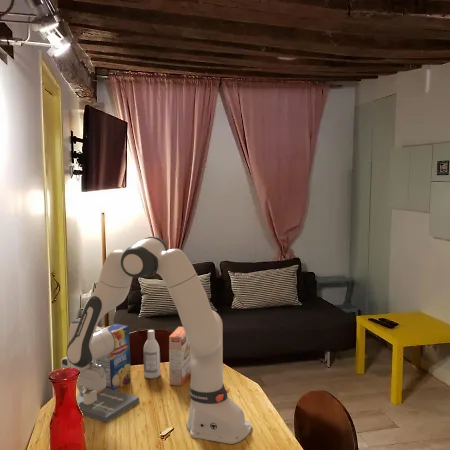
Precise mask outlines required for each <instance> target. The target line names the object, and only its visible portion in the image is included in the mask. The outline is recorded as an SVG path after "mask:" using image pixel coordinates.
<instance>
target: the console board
mask: <svg viewBox="0 0 450 450" xmlns="http://www.w3.org/2000/svg"><path fill="white" fill-rule="evenodd" d="M76 396H77V401H78V405H79V407H80V410H81V411H82V413H83V415H84V416H83V415H82V416H83V417H85V418H86V417H87V418H90V419H93V420H95V421H98V422H102V423H105V424H107V423H108V422H110V421H112V420H113V419H114V418H116V417H118V416H119V415H121V414H122V413H125V412H126V411H127V410H128V409H130V408H132V407H133V406H135V405H136V404H137V405H138V403H140V397H139V396H138V395H137V396H136V395H133V394H130V393H126V392H122V391H119V390H117V389H116V390H112V389H108V388H104V389H103V391H101V392H99V393H97V400H96V401H95V402H93V403H91V404H89V405H86V404H84V401H83V397H81V396H80V393H79V394H77V395H76Z"/></svg>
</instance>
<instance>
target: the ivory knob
mask: <svg viewBox="0 0 450 450" xmlns="http://www.w3.org/2000/svg"><path fill="white" fill-rule="evenodd" d="M96 400H97V391H96V390H93V389H90V390H88V391H86V392H85V393H83V401H84V404H86V405H89V404H91V403H93V402H95V401H96Z"/></svg>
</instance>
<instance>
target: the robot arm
mask: <svg viewBox="0 0 450 450" xmlns="http://www.w3.org/2000/svg"><path fill="white" fill-rule="evenodd" d="M156 274H158V275H159V277H161V279H162V280H163V283H164V285H165V287H166V288H167V291H168V293H169V295H170V297H171V299H172V302H173V303H174V305H175V308H176V310H177V312H178V316H179V318H180V322H181V324H182V325H181V326H182V327H183V328H184V330H185V333H186V335H187V338H188V340H189V344H190V346H191V373H190V385H189V399H190V405H189V407H190V408H189V412H188V413H189V414H188V419H187V421H186V427H187V429H188V431H189V434H190V437H191V438H194V439H200V440H207V441H211V442H218V443H223V444H230V445H231V444H232V445H233V444H237V443H239V442H242V440H244V439H246V437H248V436H249V434H250V433H251V431H252V423H251V422H249V421H247V420H246V418H245V414H244V410H243V409H242V408H241V407H240V406H239V405H238V404H237V403H236V402H235V401H234V400H232V398H231V397H229V396H228V393H230V390H231V389H230V388H231V387H230V388H227V389H226V387H225V385H224V379H223V378H224V377H223V376H224V375H223V374H224V370H223V369H224V364H223V359H224V357H223V352H224V351H223V350H224V347H223V346H224V345H223V341H224V340H223V339H224V338H223V333H224V332H223V330H224V329H223V328H224V327H223V319H222V318H221V316H220V314H219V313H218V312H216V311H215V310H213V309H212V307H211V304H210V301H209V299H208V295H207V293H206V291H205V288H204V287H203V284H202V282H201V280H200V278H199V276H198V273H197V272H196V270H195V268H194V265H193V264H192V263H191V261H190V259H189V258H188V256H187V255H186V254H185V252H184V251H183V250H181V249H180V248H171V249H168V246H167V243H166V241H164V239H163V238H161V237H158V236H148V237H145V238H144V239H141V240H139V241H136V242H134V243H133V244H132V245H131V246H129V247H127V248H126V249H125V250H124V249H114V250H112V251H110V252H108V255H107V257H106V258H105V260H104V263H103V265H102V267H101V271H100V273H99V278H98V282H97V284H96V286H95V289H94V291H93V292H92V294H91V296H90V298H89V299H88V301H87V302H86V304H85V306H84V309H83V310H82V312H81V313H82V314H81V316H80V318H78V319H75V320H74V321H72V322H70V325H69V330H68V333H69V334H68V339H69V340H68V343H67V346H66V356H65V357H63V358H61V359H60V364H61V366H60V369H61V368H66V367H71V368H77V369H79V370H80V375H79V378H78V381H77V385H76V389H77V390H78V391H79V394H80V396H81V397H83V393H85V392H86V391H88V390H90V389H93V390H96V391H101V390H103V389H104V388H105V387H106V377H105V372H104V369H103V368H102V367H101V366H100V365H97V363H96V360H98V359H100V358H102V357H104V356H106V355H108V354H109V353H111V352H112V351H113V350H114V347H115V339H114V336H113V334H112V333H111V332H110V331H108V330H106V329H103V328H102V327H100V326H98V325H99V322H100V321H101V320H102V318H103V317H105V315H106V314H108V313H109V312H110V311H111V310H114V309H115V308H116V307H118V306H120V305H121V304H122V303H123V302H125V300H126V299H127V298H128V297H127V296H129V295H128V294H129V293H130V289H131V285H132V282H133V278H144V277H153V276H155V275H156Z"/></svg>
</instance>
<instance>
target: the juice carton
mask: <svg viewBox="0 0 450 450" xmlns="http://www.w3.org/2000/svg"><path fill="white" fill-rule="evenodd" d="M102 329H106V330H108V331H110V332H111V333H112V334H113V336H114V339H115V347H114V350H113V351H112V352H111V353H109V354H108V355H106V356H104V357H102V358H100V359H98V360H96V361H95V364H96V365H100V366H101V367H102V368H103V369H104V372H105V377H106V387H105V388H108V389H112V390H116V391H117V390H119V389H120V388H121V387H124V386H125V385H127V384H129V383H131V380H132V379H131V351H130V349H131V347H130V326H129V325H125V324H120V323H114V324H111V325H109V326H105V327H103V328H102Z"/></svg>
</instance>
